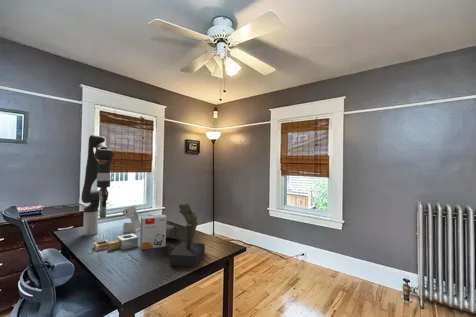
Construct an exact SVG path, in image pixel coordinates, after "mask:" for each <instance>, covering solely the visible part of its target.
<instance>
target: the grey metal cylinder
mask: <svg viewBox="0 0 476 317" xmlns="http://www.w3.org/2000/svg"><path fill="white" fill-rule="evenodd" d="M104 198H105V197H104ZM100 218H101V219H103V218H107V206H106V207H102V198H101V196H100V201H99V219H100Z"/></svg>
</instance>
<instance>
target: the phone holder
mask: <svg viewBox="0 0 476 317" xmlns="http://www.w3.org/2000/svg"><path fill="white" fill-rule="evenodd" d="M122 214H123V216H124V217H127V218H128V219H130V222H124V223H123V226H122V233H129V234H132V233H133V234H135V233H137V232H138V231H140V230H141V219H140V217H139V215H138V211H137V208H136V206H134V205H133V206H129V207H127V208H125V209H122Z"/></svg>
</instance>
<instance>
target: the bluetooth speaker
mask: <svg viewBox="0 0 476 317" xmlns="http://www.w3.org/2000/svg"><path fill="white" fill-rule="evenodd" d="M177 235H178V228H177V226H174V225H171V224H166V240H167V239H175V238H176V236H177Z"/></svg>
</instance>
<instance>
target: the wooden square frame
mask: <svg viewBox="0 0 476 317" xmlns="http://www.w3.org/2000/svg"><path fill="white" fill-rule="evenodd" d="M109 242H110V241H109V240H108V239H105V240H99V241H96V242H93V243H92V245H93V249H94V250H95V251H96V252H97V251H102V250H106V249H107V250H108V243H109Z"/></svg>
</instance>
